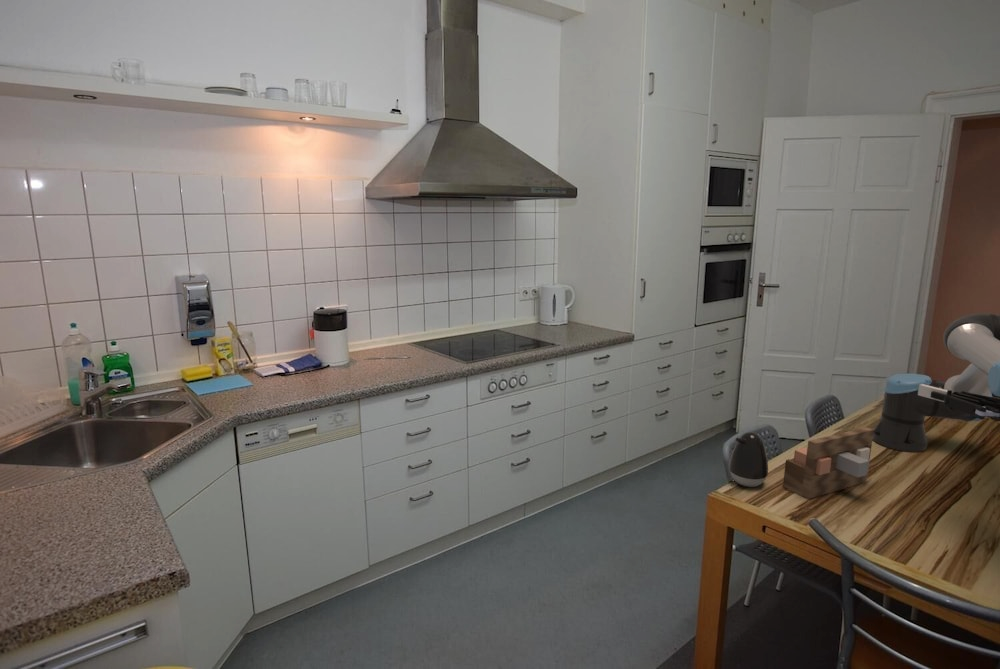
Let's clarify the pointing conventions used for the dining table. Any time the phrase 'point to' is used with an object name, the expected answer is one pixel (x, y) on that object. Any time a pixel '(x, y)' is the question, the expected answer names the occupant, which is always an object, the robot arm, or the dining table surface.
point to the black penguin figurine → (749, 460)
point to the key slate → (852, 464)
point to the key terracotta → (821, 464)
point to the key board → (816, 485)
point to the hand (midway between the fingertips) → (920, 389)
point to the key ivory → (863, 452)
